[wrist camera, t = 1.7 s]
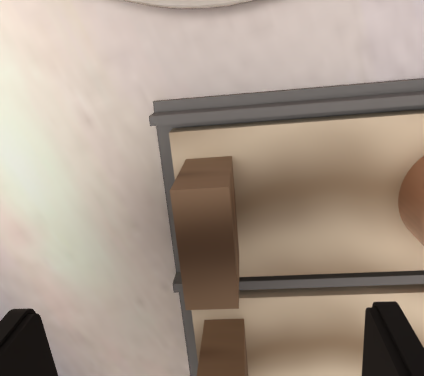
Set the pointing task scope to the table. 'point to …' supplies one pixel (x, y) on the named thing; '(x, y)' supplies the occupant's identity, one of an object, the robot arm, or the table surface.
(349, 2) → the table surface
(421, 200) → the canister
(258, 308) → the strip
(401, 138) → the strip
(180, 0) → the dinner plate
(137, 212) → the table surface
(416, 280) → the lane frame
